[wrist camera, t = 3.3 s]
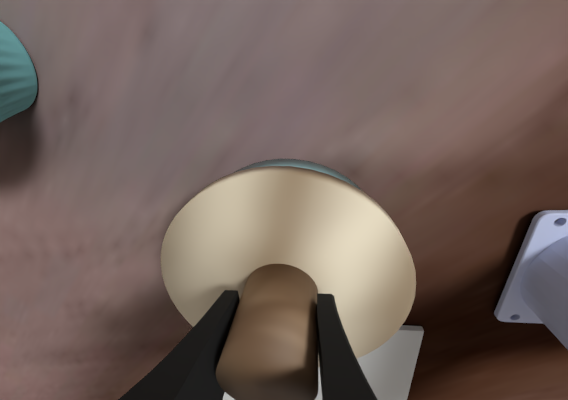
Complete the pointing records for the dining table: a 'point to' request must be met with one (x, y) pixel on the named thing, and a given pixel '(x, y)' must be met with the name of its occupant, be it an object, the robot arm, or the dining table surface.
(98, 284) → the dining table surface
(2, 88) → the cupcake
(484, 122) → the dining table surface
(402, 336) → the mat
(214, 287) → the lid
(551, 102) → the dining table surface
